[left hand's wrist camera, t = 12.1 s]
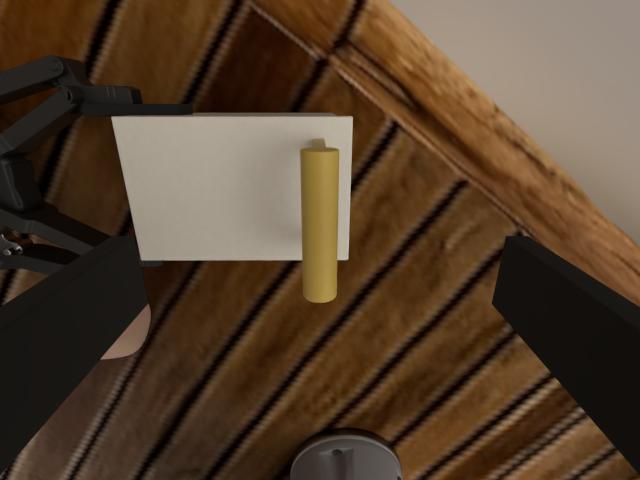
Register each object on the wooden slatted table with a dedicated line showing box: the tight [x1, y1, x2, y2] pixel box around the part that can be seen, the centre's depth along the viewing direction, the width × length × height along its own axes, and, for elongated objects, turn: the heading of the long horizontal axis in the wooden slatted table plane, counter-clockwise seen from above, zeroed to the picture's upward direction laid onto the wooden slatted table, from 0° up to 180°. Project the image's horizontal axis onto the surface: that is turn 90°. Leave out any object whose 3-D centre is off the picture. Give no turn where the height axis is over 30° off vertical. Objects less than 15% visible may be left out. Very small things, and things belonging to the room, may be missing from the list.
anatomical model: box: [101, 304, 151, 359], centre depth 37 cm, size 13×4×12 cm
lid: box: [111, 116, 353, 303], centre depth 20 cm, size 15×10×9 cm, turn 90°
